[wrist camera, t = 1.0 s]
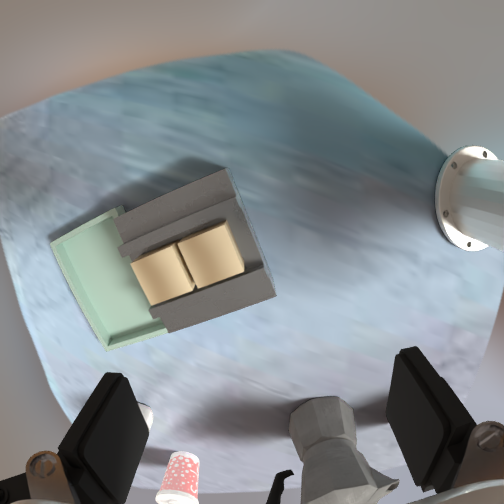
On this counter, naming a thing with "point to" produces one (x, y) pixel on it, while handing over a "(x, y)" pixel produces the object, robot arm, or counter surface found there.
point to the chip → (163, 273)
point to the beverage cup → (180, 480)
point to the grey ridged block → (190, 221)
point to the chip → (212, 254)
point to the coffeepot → (331, 457)
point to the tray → (106, 283)
